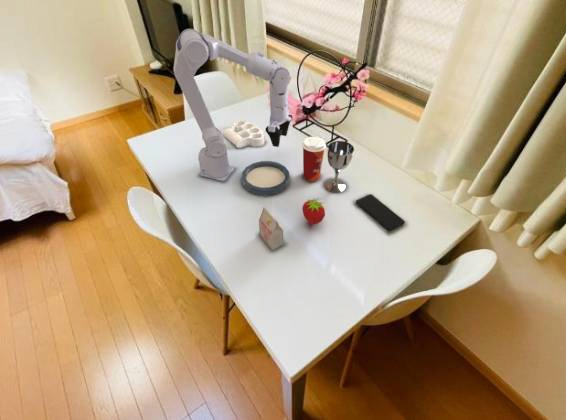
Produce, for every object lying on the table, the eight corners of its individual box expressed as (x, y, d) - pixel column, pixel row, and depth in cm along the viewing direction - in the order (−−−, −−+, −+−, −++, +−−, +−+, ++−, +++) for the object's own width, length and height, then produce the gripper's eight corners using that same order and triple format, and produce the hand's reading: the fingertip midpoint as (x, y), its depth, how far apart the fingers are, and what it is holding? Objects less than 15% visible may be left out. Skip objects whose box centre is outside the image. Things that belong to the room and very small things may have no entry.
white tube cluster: (219, 133, 127) (248, 123, 133) (241, 153, 117) (272, 141, 123) (218, 126, 124) (248, 116, 131) (240, 145, 114) (272, 134, 121)
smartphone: (370, 193, 100) (406, 221, 90) (370, 195, 100) (405, 223, 91) (354, 200, 97) (389, 230, 88) (354, 202, 97) (388, 232, 88)
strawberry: (313, 212, 94) (315, 187, 87) (327, 228, 89) (331, 203, 82) (297, 219, 92) (298, 194, 85) (311, 236, 87) (313, 210, 80)
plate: (234, 189, 101) (233, 182, 100) (254, 163, 112) (254, 157, 110) (278, 200, 98) (278, 194, 96) (295, 172, 108) (295, 166, 107)
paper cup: (320, 184, 104) (324, 149, 94) (298, 181, 105) (300, 146, 95) (323, 171, 109) (327, 136, 100) (302, 168, 110) (304, 134, 101)
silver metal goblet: (351, 185, 104) (359, 147, 93) (337, 196, 99) (344, 158, 89) (332, 175, 108) (338, 138, 97) (318, 185, 103) (322, 147, 93)
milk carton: (270, 229, 89) (270, 204, 82) (283, 244, 84) (283, 219, 78) (259, 234, 87) (258, 209, 80) (271, 250, 83) (271, 225, 76)
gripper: (282, 115, 92) (282, 153, 102) (297, 96, 102) (297, 132, 111) (261, 112, 94) (263, 149, 104) (278, 93, 104) (279, 129, 113)
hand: (279, 140), depth 108 cm, fingers open, 7 cm apart
